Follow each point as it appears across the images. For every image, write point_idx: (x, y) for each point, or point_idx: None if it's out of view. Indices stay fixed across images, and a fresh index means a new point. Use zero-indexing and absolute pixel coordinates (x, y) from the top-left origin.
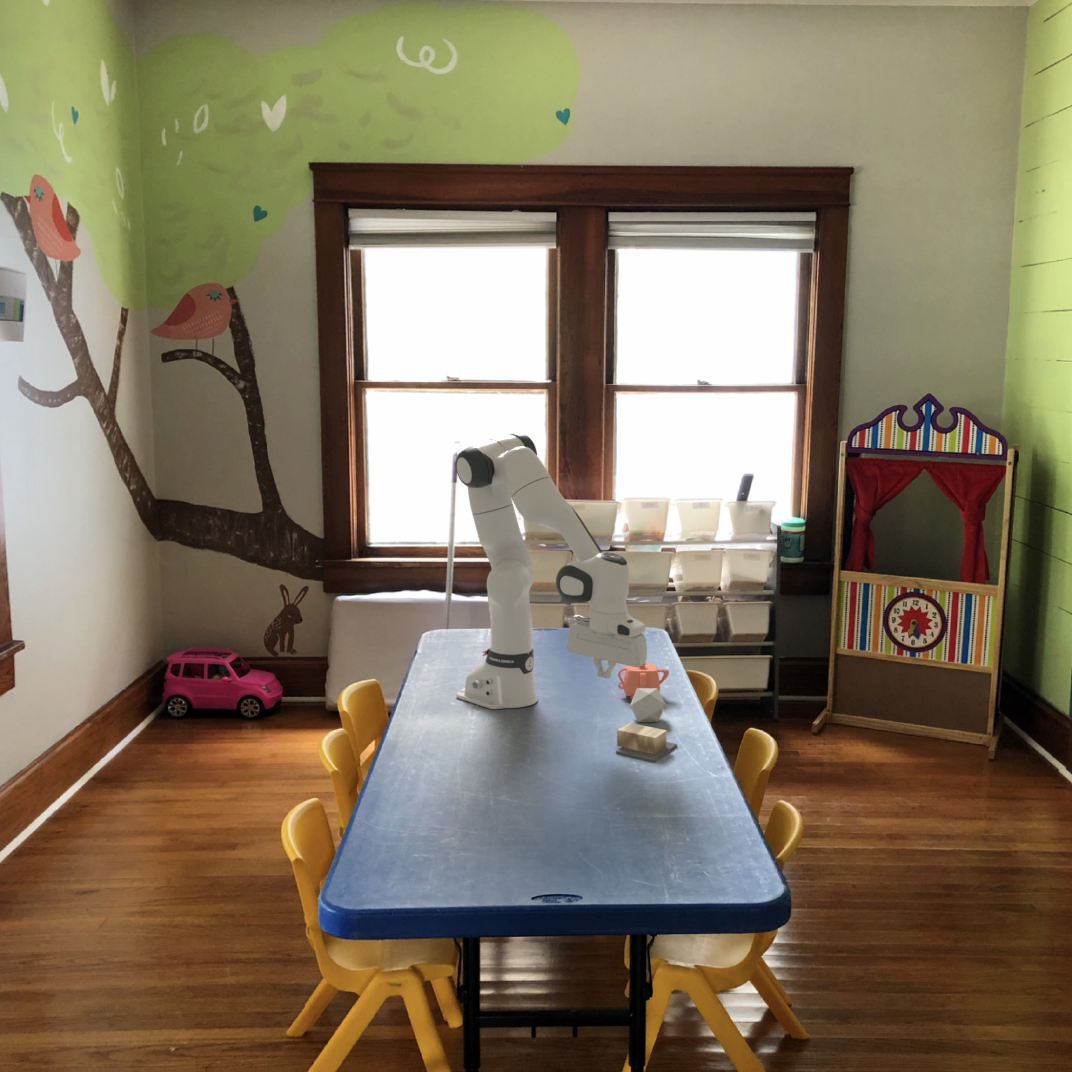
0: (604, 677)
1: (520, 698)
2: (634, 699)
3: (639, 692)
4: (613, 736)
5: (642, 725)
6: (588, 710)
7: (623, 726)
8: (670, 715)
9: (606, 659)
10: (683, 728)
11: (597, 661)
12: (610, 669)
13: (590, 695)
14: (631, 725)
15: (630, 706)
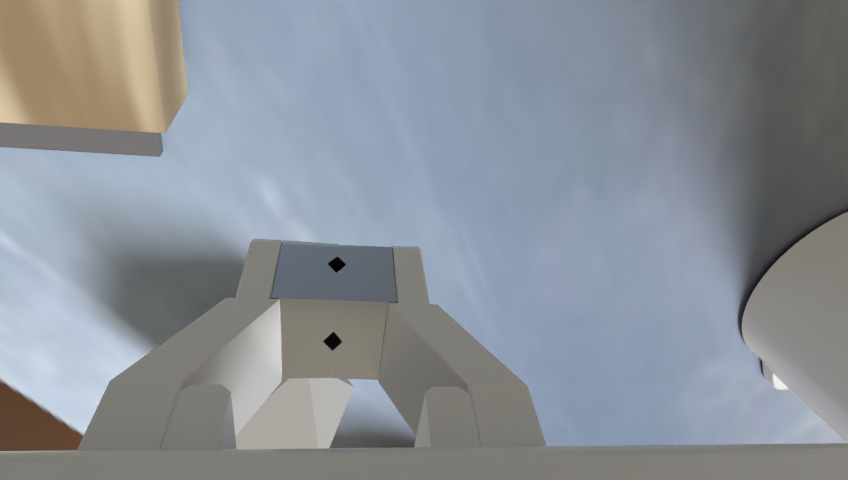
0: (306, 242)
1: (834, 263)
2: (305, 396)
3: (291, 444)
4: (300, 113)
5: (50, 124)
6: (530, 330)
7: (148, 43)
8: None
9: (186, 471)
10: (74, 346)
11: (454, 406)
12: (185, 338)
13: (563, 434)
14: (114, 89)
15: (348, 381)
